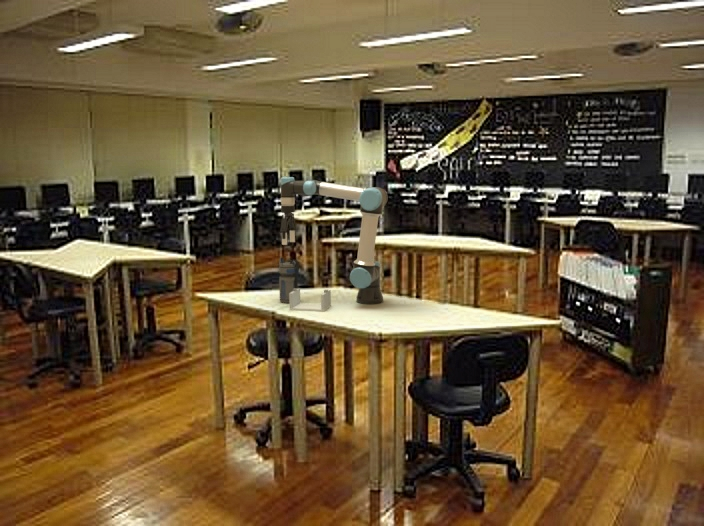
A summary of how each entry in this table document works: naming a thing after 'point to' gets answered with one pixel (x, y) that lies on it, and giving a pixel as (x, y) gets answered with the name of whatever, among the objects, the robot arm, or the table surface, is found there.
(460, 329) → the table surface
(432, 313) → the table surface
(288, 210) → the robot arm
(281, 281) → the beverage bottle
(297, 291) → the holder
